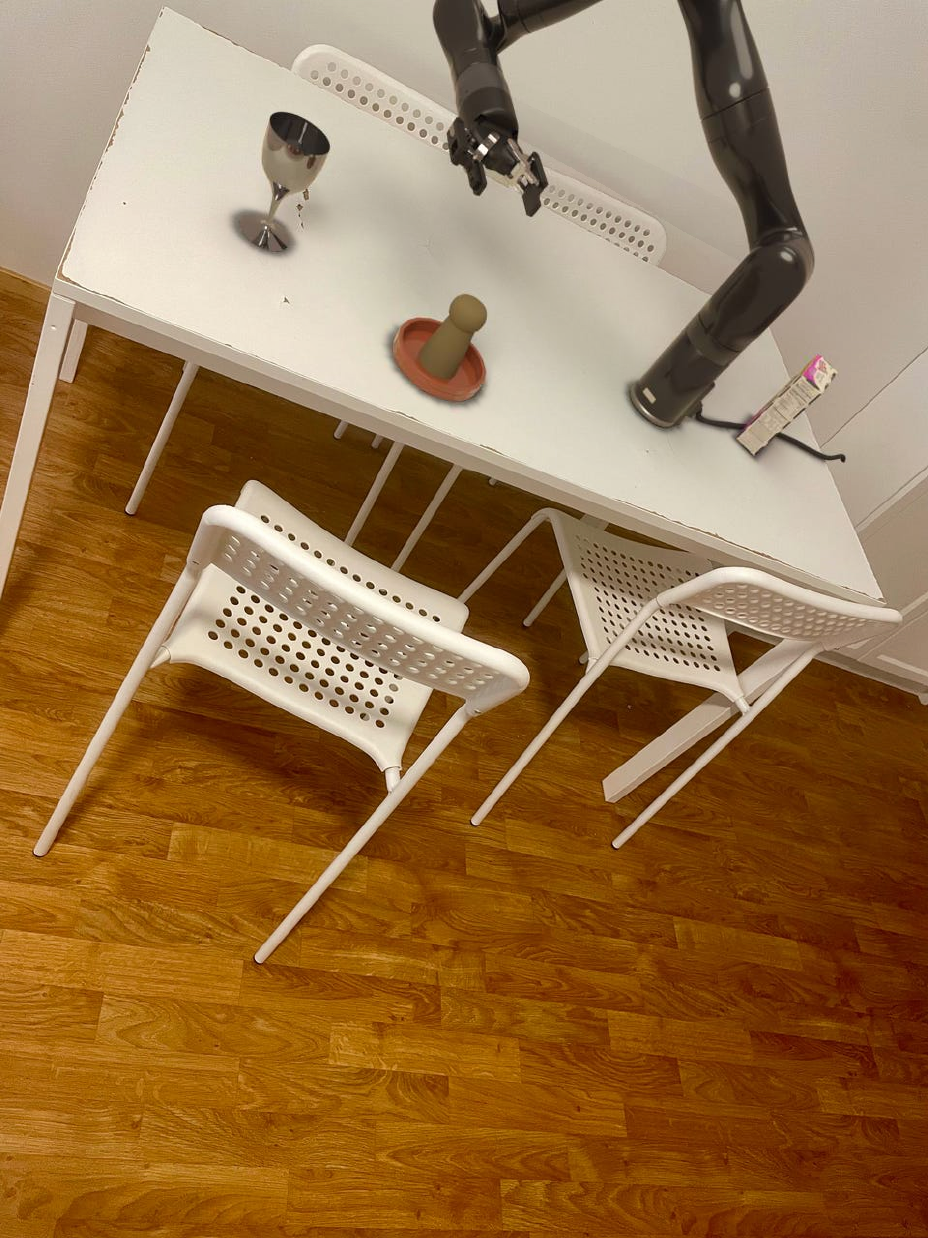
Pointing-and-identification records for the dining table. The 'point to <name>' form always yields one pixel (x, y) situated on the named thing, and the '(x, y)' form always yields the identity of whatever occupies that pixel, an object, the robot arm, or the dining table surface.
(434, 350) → the brown game pawn
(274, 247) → the silver goblet
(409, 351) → the dish
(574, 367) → the dining table surface
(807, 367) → the candy bar box
